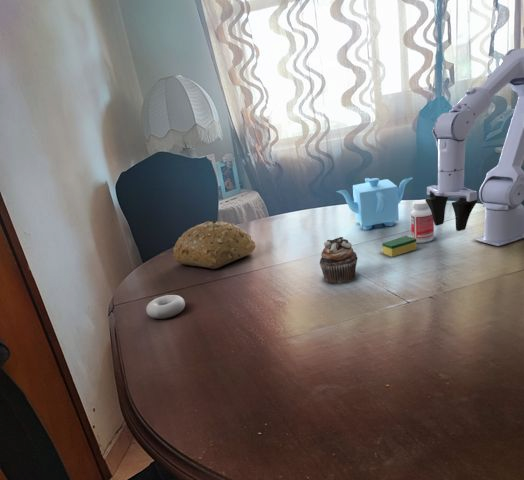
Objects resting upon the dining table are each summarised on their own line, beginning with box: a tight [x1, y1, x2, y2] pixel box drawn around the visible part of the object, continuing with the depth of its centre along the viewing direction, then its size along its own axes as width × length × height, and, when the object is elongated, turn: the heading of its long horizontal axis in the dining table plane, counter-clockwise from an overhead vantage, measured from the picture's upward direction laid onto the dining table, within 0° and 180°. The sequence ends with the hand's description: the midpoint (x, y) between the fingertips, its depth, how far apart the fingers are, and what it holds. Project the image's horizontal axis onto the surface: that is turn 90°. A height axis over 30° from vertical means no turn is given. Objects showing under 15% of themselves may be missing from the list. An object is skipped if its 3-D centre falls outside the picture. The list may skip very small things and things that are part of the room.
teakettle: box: [335, 177, 414, 231], centre depth 154 cm, size 19×19×15 cm
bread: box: [172, 220, 256, 270], centre depth 150 cm, size 24×21×12 cm
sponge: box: [381, 235, 417, 258], centre depth 129 cm, size 8×4×3 cm, turn 111°
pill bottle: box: [410, 199, 435, 244], centre depth 132 cm, size 6×6×11 cm
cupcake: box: [319, 236, 358, 284], centre depth 118 cm, size 10×10×10 cm
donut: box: [145, 294, 186, 320], centre depth 118 cm, size 10×3×10 cm
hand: (449, 227), depth 114 cm, fingers open, 7 cm apart
